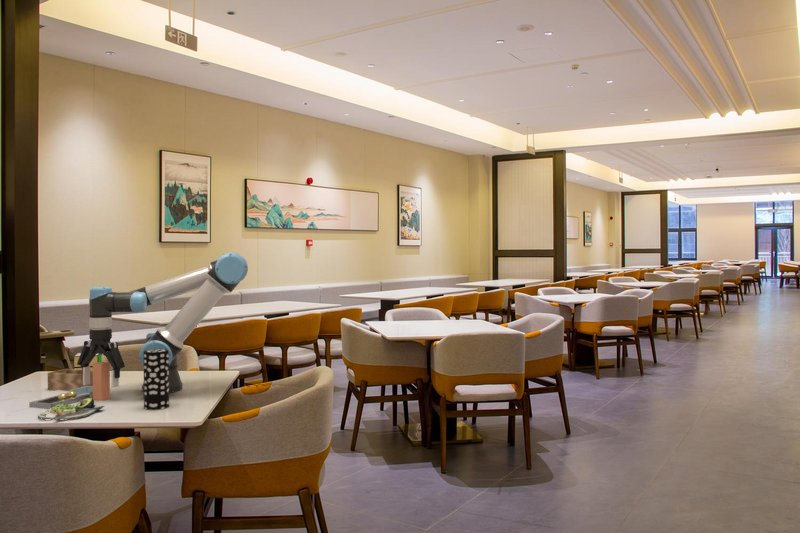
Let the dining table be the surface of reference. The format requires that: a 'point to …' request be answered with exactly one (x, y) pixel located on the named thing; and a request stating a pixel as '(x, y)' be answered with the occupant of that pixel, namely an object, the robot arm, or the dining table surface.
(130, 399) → the dining table surface
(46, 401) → the shallow gray open box
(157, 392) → the spotted tube
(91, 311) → the robot arm
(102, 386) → the post
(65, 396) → the ball
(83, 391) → the tray
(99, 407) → the salad plate
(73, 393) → the ball
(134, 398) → the dining table surface
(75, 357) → the puzzle cube
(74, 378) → the brown wooden block
